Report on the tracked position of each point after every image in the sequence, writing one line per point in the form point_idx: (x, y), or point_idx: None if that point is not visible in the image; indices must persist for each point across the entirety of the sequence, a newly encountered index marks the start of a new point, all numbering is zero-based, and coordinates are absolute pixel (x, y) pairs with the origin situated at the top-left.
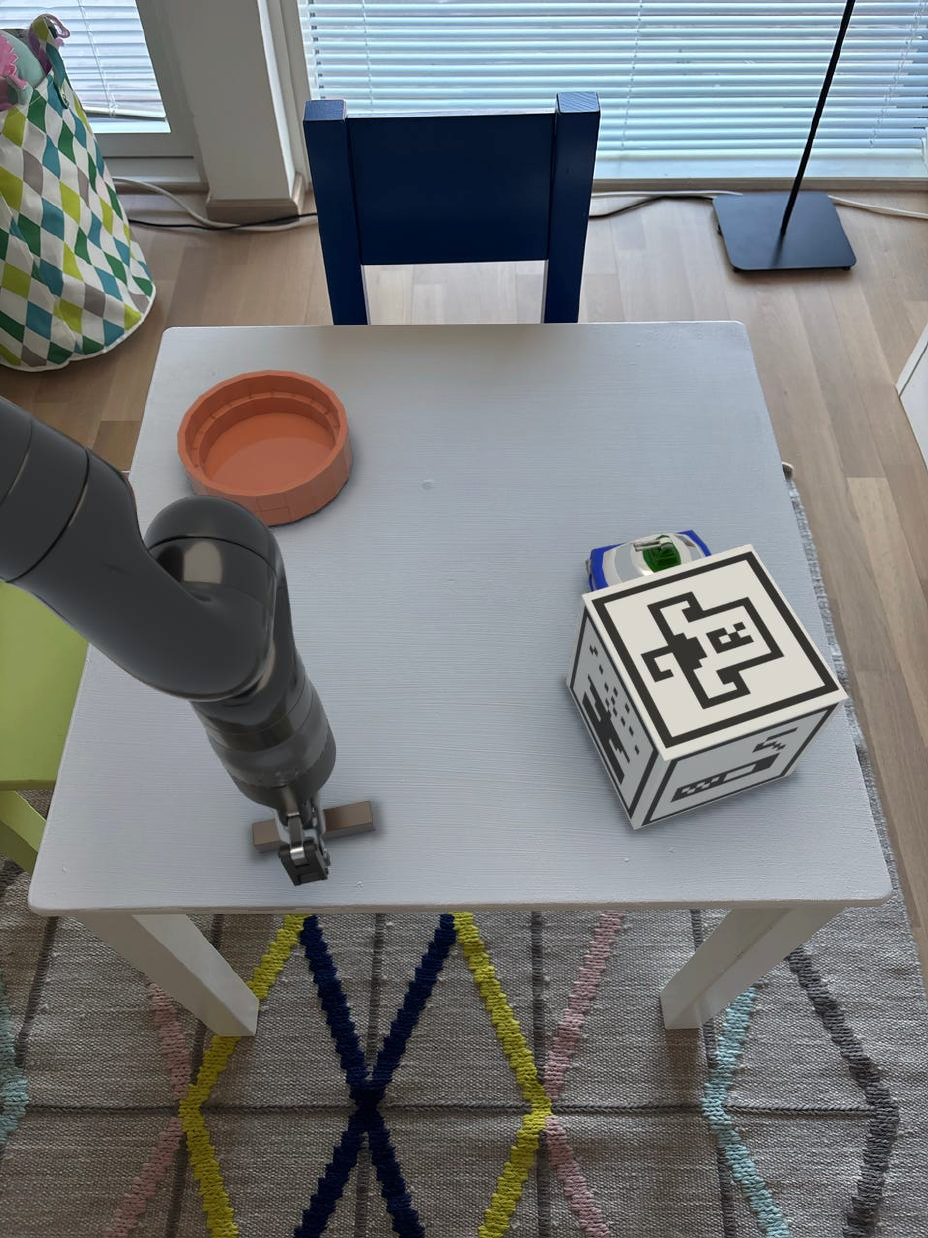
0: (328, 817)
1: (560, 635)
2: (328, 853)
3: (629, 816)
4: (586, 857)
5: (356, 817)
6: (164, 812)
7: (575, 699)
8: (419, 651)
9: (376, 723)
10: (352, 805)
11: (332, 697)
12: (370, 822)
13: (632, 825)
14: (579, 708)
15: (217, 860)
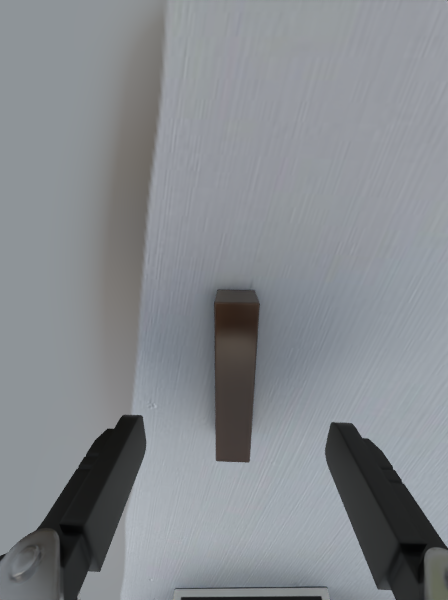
0: (237, 415)
1: (379, 593)
2: (134, 479)
3: (184, 597)
4: (156, 562)
5: (228, 445)
6: (348, 105)
7: (306, 596)
8: (437, 504)
9: None
10: (248, 443)
11: (431, 413)
12: (216, 458)
13: (177, 592)
14: (296, 595)
15: (219, 218)
